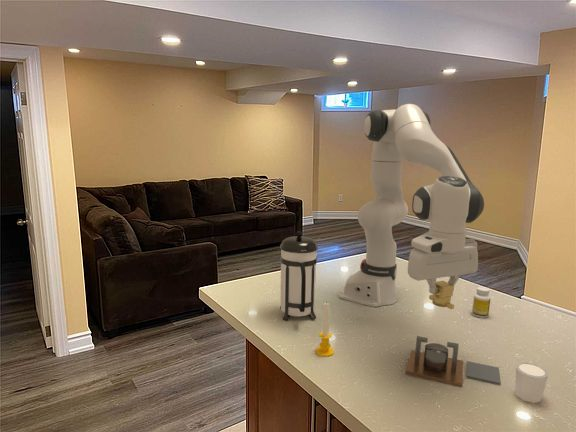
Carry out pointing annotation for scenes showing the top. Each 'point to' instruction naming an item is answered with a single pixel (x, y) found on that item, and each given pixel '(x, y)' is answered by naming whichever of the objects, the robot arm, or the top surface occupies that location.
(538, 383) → the white cylinder
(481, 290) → the supplement bottle
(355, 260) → the top surface
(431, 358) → the drum on wooden base
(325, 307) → the candle
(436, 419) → the top surface
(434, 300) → the cap
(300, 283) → the coffee press
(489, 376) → the mat
